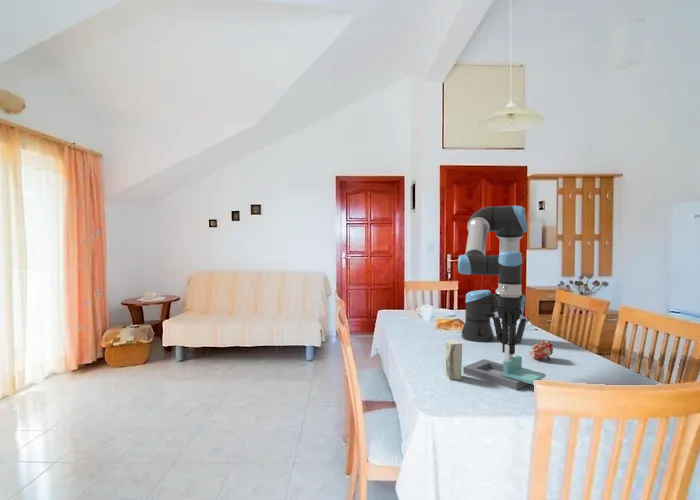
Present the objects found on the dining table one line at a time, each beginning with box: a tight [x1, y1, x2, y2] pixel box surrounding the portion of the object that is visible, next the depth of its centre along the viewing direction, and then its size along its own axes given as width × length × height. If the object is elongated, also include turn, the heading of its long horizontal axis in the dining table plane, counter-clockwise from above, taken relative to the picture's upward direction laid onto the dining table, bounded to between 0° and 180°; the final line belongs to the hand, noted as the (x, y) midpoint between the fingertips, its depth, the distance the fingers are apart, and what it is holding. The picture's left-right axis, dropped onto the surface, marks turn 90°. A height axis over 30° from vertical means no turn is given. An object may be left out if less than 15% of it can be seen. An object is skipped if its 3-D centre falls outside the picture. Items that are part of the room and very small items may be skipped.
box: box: [445, 339, 463, 381], centre depth 138 cm, size 5×4×13 cm
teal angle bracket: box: [502, 355, 546, 385], centre depth 132 cm, size 10×10×5 cm
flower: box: [528, 340, 554, 362], centre depth 158 cm, size 10×9×8 cm
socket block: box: [462, 358, 529, 391], centre depth 139 cm, size 20×14×2 cm
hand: (508, 362), depth 136 cm, fingers closed
